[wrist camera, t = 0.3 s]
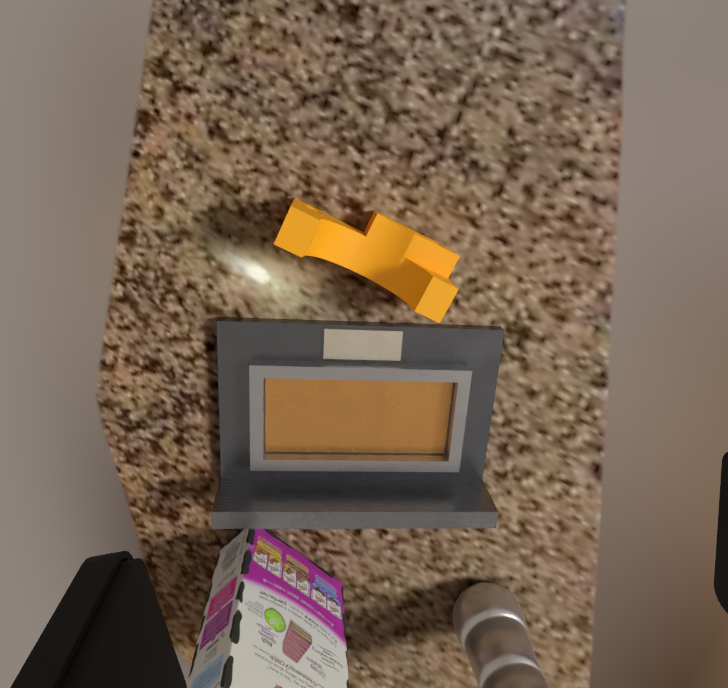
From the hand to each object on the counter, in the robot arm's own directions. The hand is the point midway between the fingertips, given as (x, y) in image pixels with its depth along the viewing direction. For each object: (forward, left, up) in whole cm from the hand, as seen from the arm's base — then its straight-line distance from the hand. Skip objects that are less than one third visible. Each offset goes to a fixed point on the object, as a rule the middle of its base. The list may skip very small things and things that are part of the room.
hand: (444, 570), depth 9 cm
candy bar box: (+30, -4, -34) cm, 46 cm away
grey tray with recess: (+14, +2, -34) cm, 37 cm away
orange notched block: (0, +2, -35) cm, 35 cm away
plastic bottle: (+34, +15, -34) cm, 50 cm away
